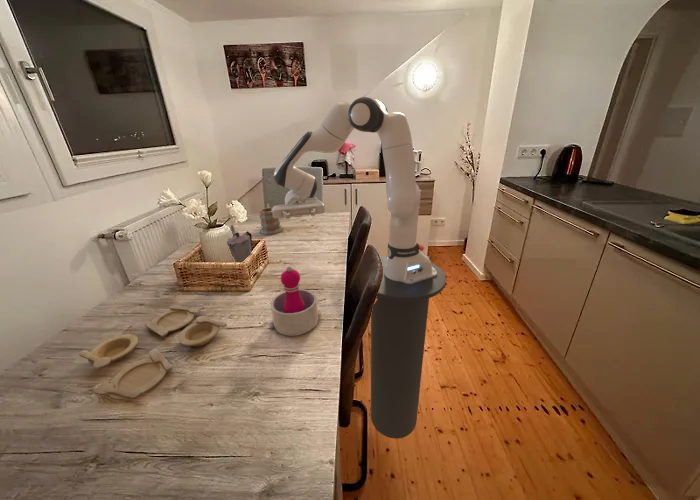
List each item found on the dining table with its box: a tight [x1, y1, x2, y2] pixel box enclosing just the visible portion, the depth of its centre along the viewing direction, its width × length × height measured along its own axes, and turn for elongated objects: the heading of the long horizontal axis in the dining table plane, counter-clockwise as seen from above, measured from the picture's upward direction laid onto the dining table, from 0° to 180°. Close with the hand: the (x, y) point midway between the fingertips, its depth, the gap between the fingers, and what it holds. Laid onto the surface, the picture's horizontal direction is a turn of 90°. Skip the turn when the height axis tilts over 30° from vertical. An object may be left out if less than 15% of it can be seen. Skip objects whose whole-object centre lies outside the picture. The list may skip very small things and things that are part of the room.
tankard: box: [259, 203, 283, 236], centre depth 178 cm, size 20×13×15 cm, turn 13°
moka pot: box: [226, 230, 253, 263], centre depth 122 cm, size 10×15×20 cm, turn 170°
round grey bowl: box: [270, 288, 319, 337], centre depth 93 cm, size 15×15×8 cm
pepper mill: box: [280, 265, 305, 313], centre depth 90 cm, size 7×7×20 cm
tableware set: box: [78, 304, 228, 400], centre depth 84 cm, size 35×29×4 cm
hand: (300, 215), depth 104 cm, fingers open, 8 cm apart
